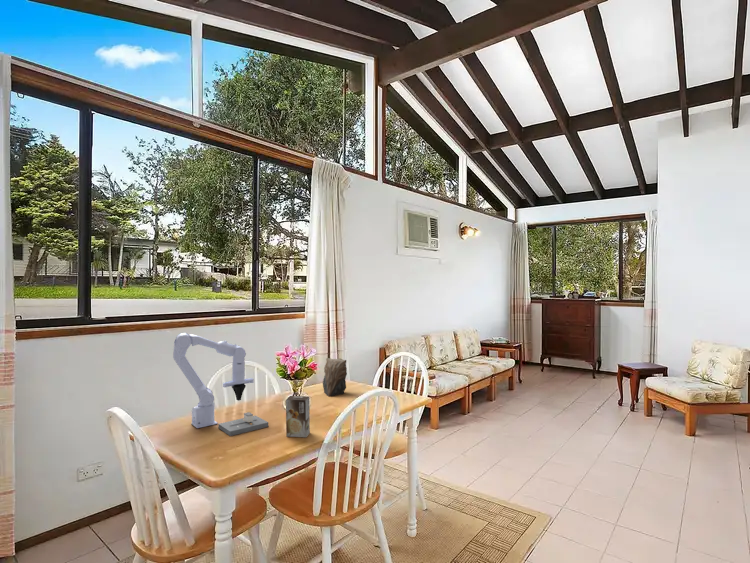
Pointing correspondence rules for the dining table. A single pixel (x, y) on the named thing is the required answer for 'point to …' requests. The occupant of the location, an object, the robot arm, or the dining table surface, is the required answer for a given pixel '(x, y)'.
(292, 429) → the coffee box
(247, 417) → the fader tab
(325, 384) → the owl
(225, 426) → the console
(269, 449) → the dining table surface
